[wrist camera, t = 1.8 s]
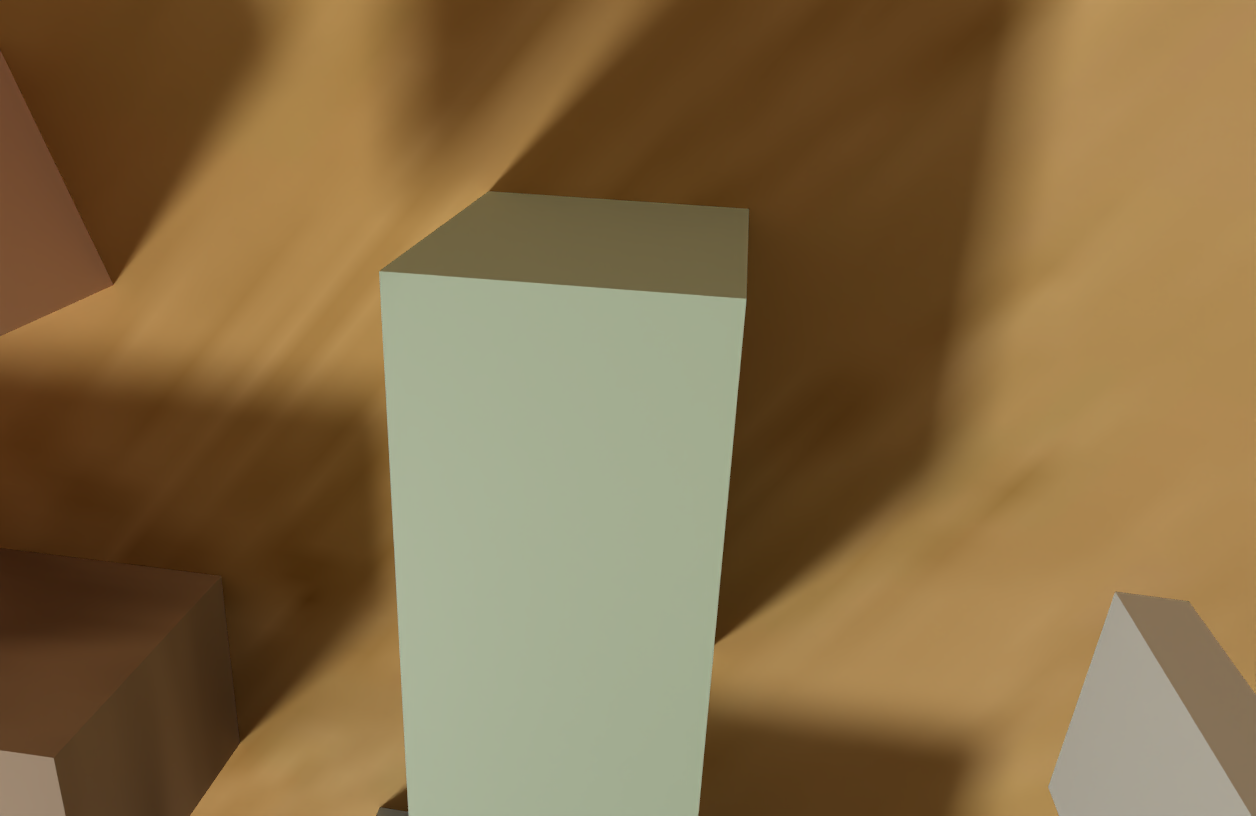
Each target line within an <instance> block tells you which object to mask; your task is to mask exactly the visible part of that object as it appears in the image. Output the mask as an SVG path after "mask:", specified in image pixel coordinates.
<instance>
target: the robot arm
mask: <svg viewBox="0 0 1256 816" xmlns="http://www.w3.org/2000/svg"><path fill="white" fill-rule="evenodd" d="M1048 788H1049V790H1050V793H1051V795H1052V798H1053V801H1054V803H1055V806H1056V809H1057V811H1058V814H1059V816H1256V694H1255V693H1254V692H1253V690H1252V689H1251V687H1250V686H1249V685H1248V683H1247V682H1246V681H1245V679H1244V678H1243V676H1242V675H1241V674H1240V672H1239V671H1238V669H1237V668H1236V667H1235V665H1234V664H1233V662H1232V661H1231V660H1230V658H1229V657H1228V655H1227V654H1226V653H1225V651H1224V650H1223V648H1222V647H1221V646H1220V644H1219V643H1218V641H1217V640H1216V639H1215V637H1214V636H1213V634H1212V633H1211V632H1210V630H1209V629H1208V627H1207V626H1206V625H1205V623H1204V622H1203V620H1202V619H1201V618H1200V616H1199V615H1198V613H1197V612H1196V611H1195V609H1194V608H1193V606H1192V605H1191V604H1190V602H1189V601H1183V600H1175V599H1167V598H1160V597H1152V596H1145V595H1137V594H1129V593H1122V592H1115V594H1114V597H1113V600H1112V603H1111V606H1110V609H1109V611H1108V614H1107V617H1106V620H1105V623H1104V626H1103V629H1102V632H1101V635H1100V638H1099V641H1098V644H1097V646H1096V649H1095V652H1094V655H1093V658H1092V661H1091V664H1090V667H1089V670H1088V673H1087V676H1086V679H1085V682H1084V684H1083V687H1082V690H1081V693H1080V696H1079V699H1078V702H1077V705H1076V708H1075V711H1074V714H1073V717H1072V719H1071V722H1070V725H1069V728H1068V731H1067V734H1066V737H1065V740H1064V743H1063V746H1062V749H1061V752H1060V754H1059V757H1058V760H1057V763H1056V766H1055V769H1054V772H1053V775H1052V778H1051V781H1050V784H1049V787H1048Z"/></svg>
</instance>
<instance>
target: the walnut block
mask: <svg viewBox="0 0 1256 816" xmlns="http://www.w3.org/2000/svg"><path fill="white" fill-rule="evenodd" d="M239 744H240V739H239V730H238V721H237V712H236V703H235V694H234V685H233V676H232V667H231V658H230V649H229V640H228V631H227V622H226V613H225V604H224V595H223V587H222V578H221V576H219V575H211V574H203V573H195V572H187V571H179V570H171V569H163V568H155V567H147V566H139V565H131V564H123V563H115V562H107V561H99V560H91V559H83V558H75V557H67V556H59V555H51V554H43V553H35V552H27V551H19V550H11V549H3V548H0V816H190V815H191V813H192V812H193V810H194V809H195V807H196V806H197V804H198V803H199V802H200V800H201V799H202V797H203V796H204V794H205V793H206V791H207V790H208V789H209V787H210V786H211V784H212V783H213V781H214V780H215V778H216V777H217V776H218V774H219V773H220V771H221V770H222V768H223V767H224V765H225V764H226V762H227V761H228V760H229V758H230V757H231V755H232V754H233V752H234V751H235V749H236V748H237V747H238V745H239Z"/></svg>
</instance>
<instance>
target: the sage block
mask: <svg viewBox="0 0 1256 816" xmlns="http://www.w3.org/2000/svg"><path fill="white" fill-rule="evenodd" d="M748 232H749V209H745V208H730V207H715V206H700V205H686V204H671V203H656V202H641V201H626V200H612V199H597V198H582V197H567V196H553V195H538V194H523V193H508V192H493V191H488V192H487V193H486V194H484V195H483V196H482V197H480V198H479V199H477V200H476V201H475V202H473V203H472V204H471V205H469V206H468V207H466V208H465V209H464V210H462V211H461V212H460V213H458V214H457V215H455V216H454V217H453V218H451V219H450V220H449V221H447V222H446V223H445V224H443V225H442V226H440V227H439V228H438V229H436V230H435V231H434V232H432V233H431V234H429V235H428V236H427V237H425V238H424V239H423V240H421V241H420V242H418V243H417V244H416V245H414V246H413V247H412V248H410V249H409V250H408V251H406V252H405V253H403V254H402V255H401V256H399V257H398V258H397V259H395V260H394V261H392V262H391V263H390V264H388V265H387V266H386V267H384V268H383V269H382V270H380V271H379V276H380V295H381V313H382V332H383V351H384V369H385V388H386V406H387V425H388V443H389V462H390V480H391V499H392V517H393V536H394V554H395V573H396V592H397V610H398V629H399V647H400V666H401V684H402V703H403V721H404V740H405V758H406V777H407V796H408V814H409V816H698V813H699V803H700V792H701V781H702V770H703V760H704V749H705V738H706V728H707V717H708V706H709V695H710V685H711V674H712V663H713V653H714V642H715V631H716V621H717V610H718V599H719V588H720V578H721V567H722V556H723V546H724V535H725V524H726V513H727V503H728V492H729V481H730V471H731V460H732V449H733V438H734V428H735V417H736V406H737V396H738V385H739V374H740V363H741V353H742V342H743V331H744V321H745V310H746V299H747V266H748Z"/></svg>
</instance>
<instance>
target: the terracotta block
mask: <svg viewBox="0 0 1256 816" xmlns="http://www.w3.org/2000/svg"><path fill="white" fill-rule="evenodd" d="M112 285H113V283H112V281H111V279H110V277H109V275H108V273H107V271H106V268H105V266H104V264H103V262H102V260H101V258H100V256H99V254H98V252H97V250H96V248H95V246H94V244H93V241H92V239H91V237H90V235H89V233H88V231H87V229H86V227H85V225H84V223H83V221H82V219H81V217H80V214H79V212H78V210H77V208H76V206H75V204H74V202H73V200H72V198H71V196H70V194H69V192H68V190H67V187H66V185H65V183H64V181H63V179H62V177H61V175H60V173H59V171H58V169H57V167H56V165H55V163H54V160H53V158H52V156H51V154H50V152H49V150H48V148H47V146H46V144H45V142H44V140H43V138H42V136H41V133H40V131H39V129H38V127H37V125H36V123H35V121H34V119H33V117H32V115H31V113H30V111H29V109H28V106H27V104H26V102H25V100H24V98H23V96H22V94H21V92H20V90H19V88H18V86H17V84H16V82H15V79H14V77H13V75H12V73H11V71H10V69H9V67H8V65H7V63H6V61H5V59H4V57H3V55H2V52H1V50H0V336H2V335H4V334H6V333H8V332H10V331H13V330H15V329H17V328H19V327H21V326H24V325H26V324H28V323H30V322H32V321H35V320H37V319H39V318H41V317H44V316H46V315H48V314H50V313H52V312H55V311H57V310H59V309H61V308H63V307H66V306H68V305H70V304H72V303H75V302H77V301H79V300H81V299H83V298H86V297H88V296H90V295H92V294H94V293H97V292H99V291H101V290H103V289H105V288H108V287H110V286H112Z"/></svg>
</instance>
